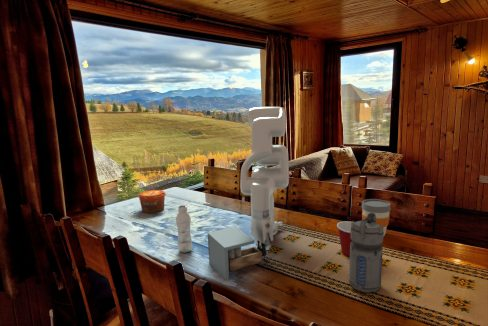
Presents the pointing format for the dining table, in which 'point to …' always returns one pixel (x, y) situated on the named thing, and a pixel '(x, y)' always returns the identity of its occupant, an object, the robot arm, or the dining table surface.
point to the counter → (225, 247)
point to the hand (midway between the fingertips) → (261, 255)
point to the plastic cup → (345, 236)
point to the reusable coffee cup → (377, 211)
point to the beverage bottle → (366, 254)
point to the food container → (152, 201)
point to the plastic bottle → (183, 230)
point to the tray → (243, 257)
